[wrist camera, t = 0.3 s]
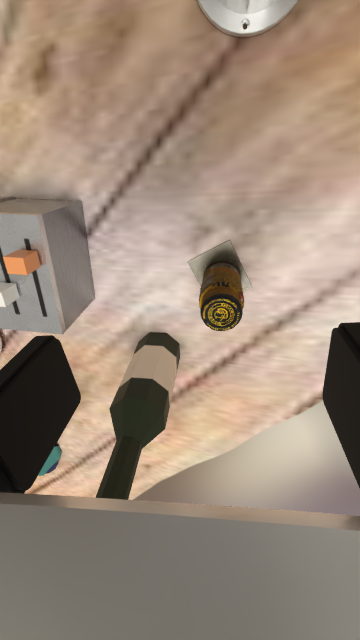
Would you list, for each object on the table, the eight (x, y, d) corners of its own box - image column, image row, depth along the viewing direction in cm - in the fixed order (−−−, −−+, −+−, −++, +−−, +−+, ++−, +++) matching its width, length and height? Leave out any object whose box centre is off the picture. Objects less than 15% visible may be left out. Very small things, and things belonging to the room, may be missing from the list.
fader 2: (18, 249, 34) (2, 256, 32) (36, 250, 34) (22, 258, 32) (22, 265, 35) (7, 273, 33) (40, 266, 35) (27, 275, 33)
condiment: (211, 304, 48) (208, 344, 38) (187, 261, 45) (177, 292, 35) (252, 286, 46) (261, 324, 36) (229, 239, 43) (232, 266, 32)
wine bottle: (130, 338, 54) (47, 505, 28) (169, 325, 52) (118, 495, 26) (150, 371, 58) (92, 546, 32) (188, 360, 55) (158, 541, 29)
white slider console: (19, 198, 44) (-45, 211, 33) (81, 201, 43) (36, 215, 32) (41, 293, 52) (-4, 328, 41) (95, 297, 51) (62, 334, 40)
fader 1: (-2, 282, 37) (-18, 290, 35) (15, 283, 37) (1, 292, 34) (2, 296, 38) (-13, 305, 36) (19, 297, 38) (5, 307, 35)
